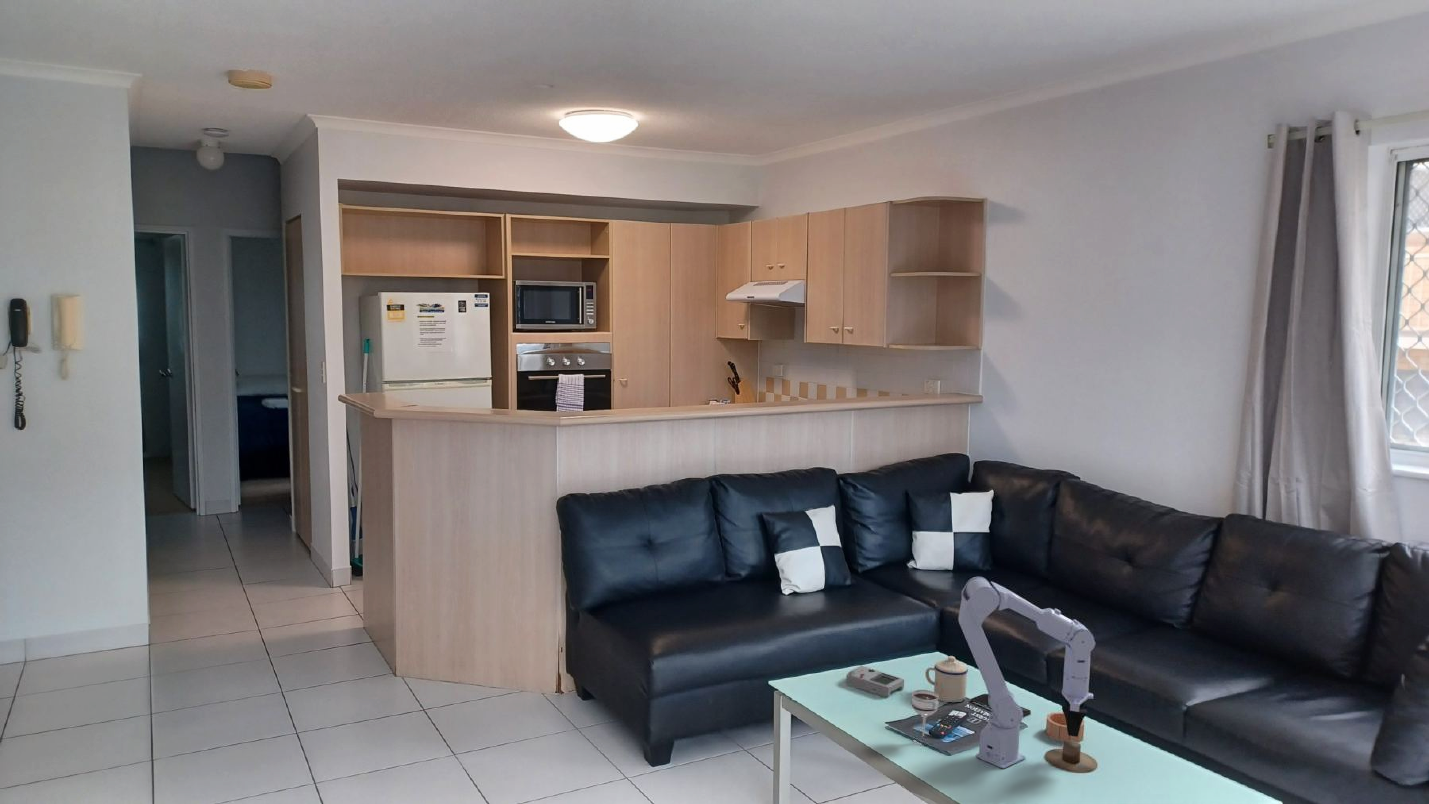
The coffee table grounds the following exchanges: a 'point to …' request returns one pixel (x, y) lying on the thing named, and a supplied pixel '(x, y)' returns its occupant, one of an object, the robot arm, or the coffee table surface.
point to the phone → (984, 701)
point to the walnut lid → (1071, 758)
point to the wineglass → (924, 704)
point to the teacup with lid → (949, 679)
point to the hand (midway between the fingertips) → (1073, 729)
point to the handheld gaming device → (874, 681)
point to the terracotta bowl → (1061, 728)
